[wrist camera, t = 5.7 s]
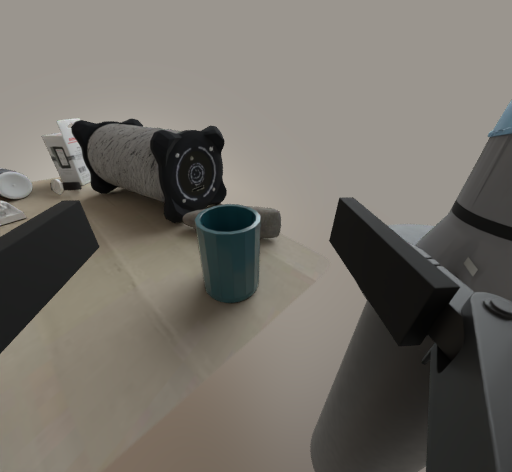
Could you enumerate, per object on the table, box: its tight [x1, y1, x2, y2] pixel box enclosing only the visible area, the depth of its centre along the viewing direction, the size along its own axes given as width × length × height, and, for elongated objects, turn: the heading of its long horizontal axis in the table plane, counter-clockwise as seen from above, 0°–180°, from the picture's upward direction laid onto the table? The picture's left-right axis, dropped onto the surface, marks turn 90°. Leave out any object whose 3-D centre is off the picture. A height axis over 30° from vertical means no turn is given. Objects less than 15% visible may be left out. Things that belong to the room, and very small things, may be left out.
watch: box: [50, 179, 81, 195], centre depth 51 cm, size 8×5×4 cm, turn 71°
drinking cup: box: [195, 204, 261, 303], centre depth 25 cm, size 7×7×9 cm
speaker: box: [71, 119, 226, 223], centre depth 45 cm, size 15×29×15 cm, turn 57°
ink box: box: [42, 118, 91, 185], centre depth 55 cm, size 8×5×15 cm, turn 2°
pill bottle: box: [0, 168, 32, 199], centre depth 48 cm, size 6×6×11 cm
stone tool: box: [183, 206, 281, 238], centre depth 36 cm, size 17×4×5 cm, turn 82°
